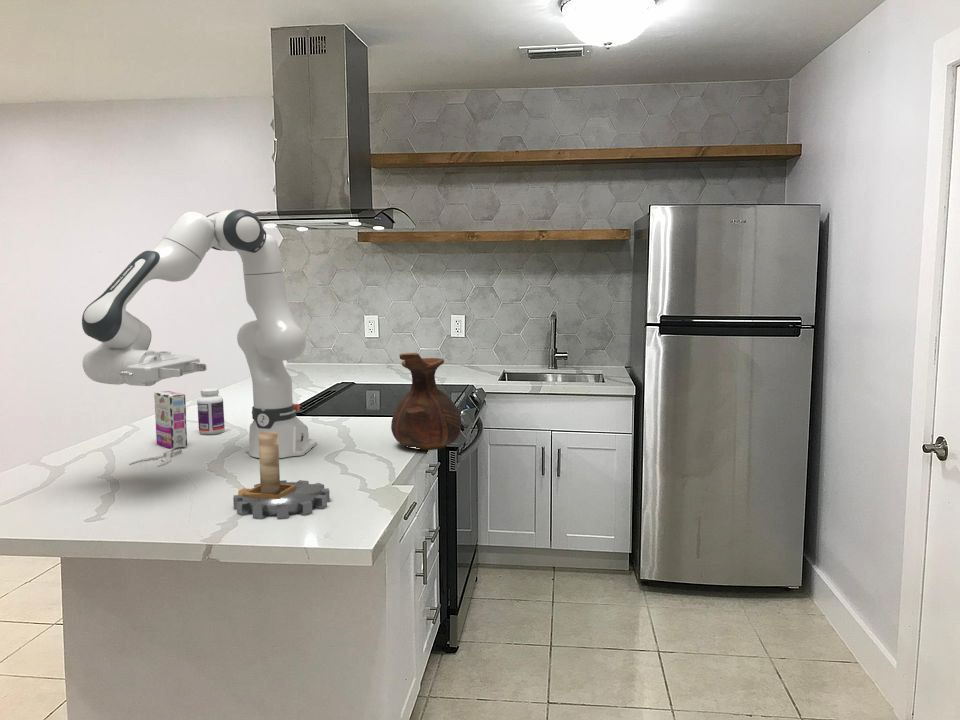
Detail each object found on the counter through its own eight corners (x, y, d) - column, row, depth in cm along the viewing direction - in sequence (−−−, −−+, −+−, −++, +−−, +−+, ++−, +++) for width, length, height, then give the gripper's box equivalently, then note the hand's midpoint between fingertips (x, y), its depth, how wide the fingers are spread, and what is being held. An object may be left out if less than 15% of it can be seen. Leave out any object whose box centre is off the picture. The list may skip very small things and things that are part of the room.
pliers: (128, 460, 215) (162, 447, 229) (128, 465, 215) (162, 453, 230) (159, 462, 213) (191, 449, 227) (159, 468, 213) (192, 455, 227)
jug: (379, 443, 241) (377, 347, 237) (441, 435, 251) (441, 343, 247) (408, 458, 222) (406, 354, 218) (474, 449, 232) (474, 350, 229)
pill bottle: (224, 429, 260) (223, 387, 258) (224, 434, 252) (222, 390, 250) (199, 431, 257) (197, 388, 255) (198, 436, 250) (196, 392, 248)
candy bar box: (188, 447, 235) (186, 394, 233) (172, 450, 231) (169, 396, 229) (171, 441, 242) (168, 390, 240) (155, 444, 239) (153, 392, 237)
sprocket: (265, 487, 194) (264, 474, 194) (344, 493, 188) (344, 480, 188) (214, 514, 173) (213, 499, 173) (302, 522, 168) (301, 507, 167)
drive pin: (267, 488, 184) (264, 431, 182) (283, 490, 183) (281, 432, 181) (257, 494, 180) (254, 435, 178) (274, 495, 179) (271, 436, 177)
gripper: (113, 360, 180) (164, 362, 177) (170, 350, 200) (217, 352, 196) (115, 387, 181) (165, 389, 178) (171, 374, 201) (218, 377, 197)
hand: (193, 370), depth 187 cm, fingers open, 8 cm apart
